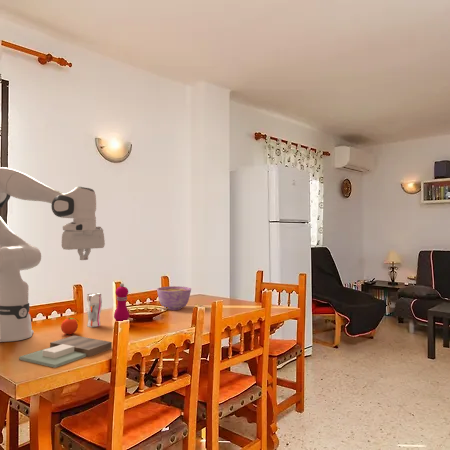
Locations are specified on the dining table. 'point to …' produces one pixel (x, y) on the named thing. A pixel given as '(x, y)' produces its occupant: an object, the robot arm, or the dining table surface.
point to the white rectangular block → (58, 351)
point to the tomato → (69, 326)
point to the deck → (84, 345)
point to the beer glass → (94, 309)
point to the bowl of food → (173, 296)
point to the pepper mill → (121, 304)
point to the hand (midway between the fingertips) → (84, 260)
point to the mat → (51, 362)
